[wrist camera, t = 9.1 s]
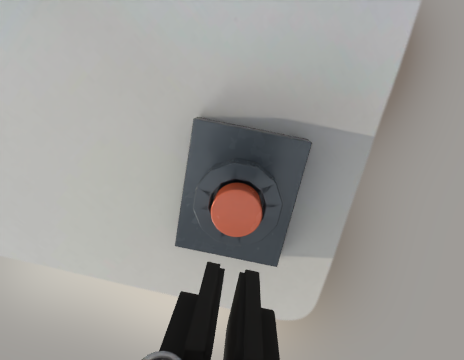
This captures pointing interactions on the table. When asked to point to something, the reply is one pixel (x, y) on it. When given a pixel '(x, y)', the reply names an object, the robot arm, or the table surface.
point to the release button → (236, 209)
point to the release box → (243, 171)
